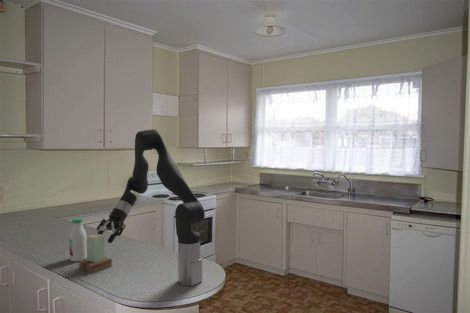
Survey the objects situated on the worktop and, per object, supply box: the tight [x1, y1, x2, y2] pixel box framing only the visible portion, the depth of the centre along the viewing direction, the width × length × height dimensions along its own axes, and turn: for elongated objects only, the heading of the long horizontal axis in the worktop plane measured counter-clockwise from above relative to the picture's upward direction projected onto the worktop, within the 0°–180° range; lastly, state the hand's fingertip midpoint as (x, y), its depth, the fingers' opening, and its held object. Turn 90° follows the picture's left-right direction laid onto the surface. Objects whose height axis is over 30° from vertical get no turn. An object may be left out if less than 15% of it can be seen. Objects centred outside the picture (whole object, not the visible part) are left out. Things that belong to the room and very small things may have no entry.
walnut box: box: [78, 256, 113, 275], centre depth 162 cm, size 10×10×4 cm
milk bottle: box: [68, 217, 87, 262], centre depth 171 cm, size 8×8×20 cm
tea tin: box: [86, 233, 106, 262], centre depth 161 cm, size 5×5×11 cm
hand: (102, 241), depth 164 cm, fingers open, 8 cm apart
